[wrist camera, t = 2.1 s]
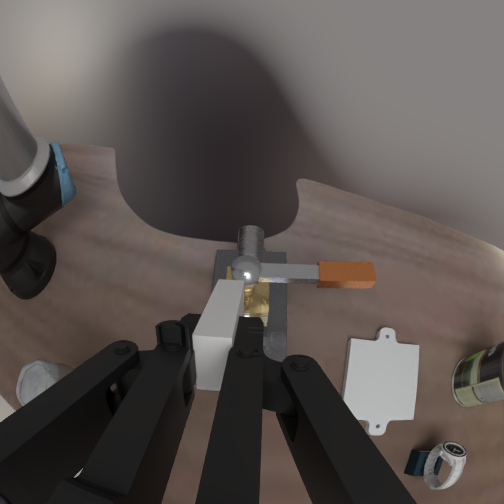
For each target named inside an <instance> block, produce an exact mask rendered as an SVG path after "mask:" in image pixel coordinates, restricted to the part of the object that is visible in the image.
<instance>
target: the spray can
mask: <svg viewBox="0 0 504 504" xmlns="http://www.w3.org/2000/svg"><path fill="white" fill-rule="evenodd" d="M73 370H75V369H73V368H71V367H69V366H67V365H64V364H60V363H53V362H49V361H46V360H43V359H38V360H36V361H34V362H31V363H28V364H26V365H25V366H24V367H23V368H22V370H21V372H20V374H19V378H18V382H17V386H16V394H17V398H18V399H19V401H20V403H21V404H22V406H24V405H25V404H27V403H28V402H30V401H31V400H32V399H34V398H35V397H37V396H38V395H39V394H41V393H42V392H44V391H45V390H46V389H48V388H49V387H51V386H52V385H53V384H55V383H56V382H58V381H59V380H60V379H62V378H63V377H65V376H66V375H67V374H69V373H70V372H72V371H73ZM110 388H111V391H113V390H114V389H116V385H115V383H114V384H113V385H112V386H111V387H110Z"/></svg>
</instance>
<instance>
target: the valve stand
mask: <svg viewBox="0 0 504 504" xmlns="http://www.w3.org/2000/svg"><path fill="white" fill-rule="evenodd" d="M243 255H250V256H253V257H255V258H256V259H258V260H259V262H260V263H276V264H286V253H284V252H265V248H264V232H263V230H262V229H261V228H259V227H257V226H251V225H249V226H244V227H242V228H241V229H240V230H239V234H238V244H237V251H231V250H217V255H216V263H215V271H214V280H213V288H212V292H213V290H214V288H215V286H216V284H217V282H218V280H219V279H225V280H232V274H231V265H232V263H233V261H234V260H235V259H236V258H238V257H240V256H243ZM244 316H245V317H260V318H261V320H262V321H263V322H264V332H263V351H264V353H265V355H266V356H267V357H269V358H270V359H272V360H275V361H279V362H282V361H283V360H284V359H285V358H286V323H287V302H286V283H274V282H259V283H258V284H257V285H256V286H255V287H253V288H249V289H244Z"/></svg>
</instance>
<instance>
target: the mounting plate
mask: <svg viewBox="0 0 504 504" xmlns="http://www.w3.org/2000/svg"><path fill="white" fill-rule="evenodd" d="M418 361H419V345H410V344H400V343H397V342H396V339H395V331H394V330H393V329H391V328H382V329H381V330H379V331H378V332H377V334H376V340H375V341H370V340H361V339H353V338H351V339H350V340H348V349H347V358H346V366H345V374H344V381H343V388H342V395H341V397H342V399H343V400H344V402H345V403H346V405H347V406H348V407H349V409H350V410H351V412H352V413H353V415H354V416H355V417H356V419H357V420H364V421H365V423H366V428H365V432H366V433H367V434H369V435H382V434H383V433H384V432H385V430H386V426H387V423H388V422H389V421H391V420H413V417H414V409H415V400H416V390H417V378H418Z"/></svg>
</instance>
